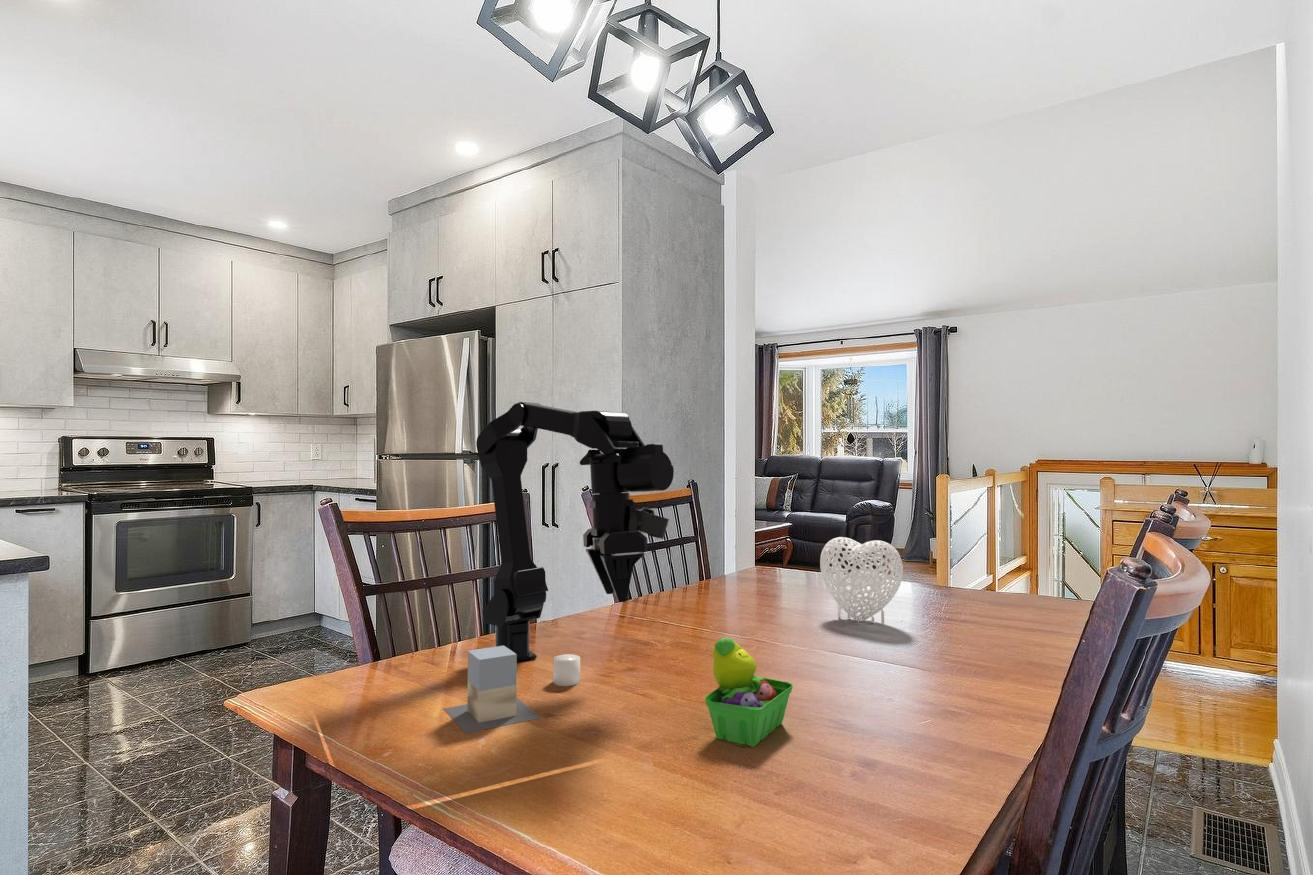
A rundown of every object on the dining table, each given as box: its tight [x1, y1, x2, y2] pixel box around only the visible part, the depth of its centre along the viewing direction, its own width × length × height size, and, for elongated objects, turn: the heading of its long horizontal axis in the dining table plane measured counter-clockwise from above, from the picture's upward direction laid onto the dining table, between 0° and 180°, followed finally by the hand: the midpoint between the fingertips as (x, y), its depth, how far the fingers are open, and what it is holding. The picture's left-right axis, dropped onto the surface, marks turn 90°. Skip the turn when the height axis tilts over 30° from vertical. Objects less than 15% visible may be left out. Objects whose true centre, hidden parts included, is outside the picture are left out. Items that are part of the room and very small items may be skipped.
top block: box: [467, 646, 518, 691], centre depth 96 cm, size 5×5×4 cm
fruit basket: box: [704, 637, 794, 747], centre depth 92 cm, size 11×9×11 cm
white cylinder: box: [552, 653, 581, 687], centre depth 109 cm, size 4×4×4 cm
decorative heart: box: [819, 536, 904, 625], centre depth 150 cm, size 18×11×17 cm, turn 44°
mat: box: [443, 696, 542, 735], centre depth 96 cm, size 10×10×1 cm
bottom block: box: [466, 681, 517, 723], centre depth 96 cm, size 5×5×4 cm
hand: (616, 597), depth 109 cm, fingers open, 9 cm apart
